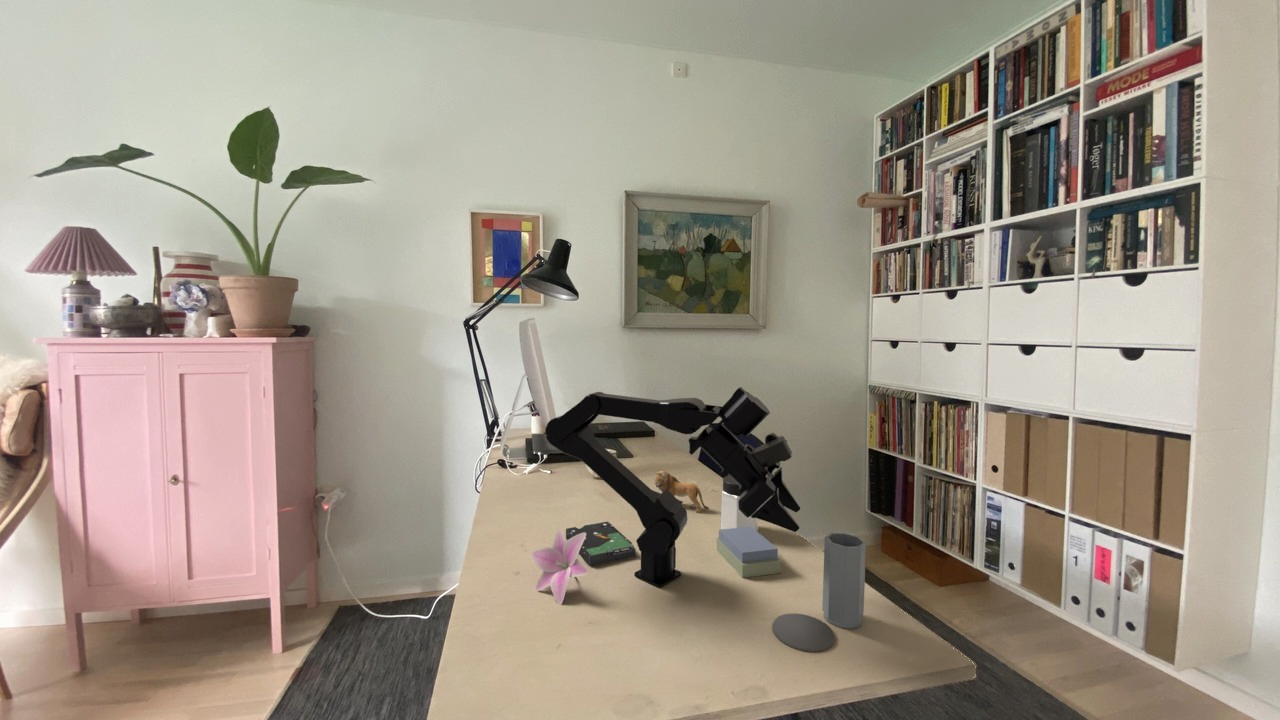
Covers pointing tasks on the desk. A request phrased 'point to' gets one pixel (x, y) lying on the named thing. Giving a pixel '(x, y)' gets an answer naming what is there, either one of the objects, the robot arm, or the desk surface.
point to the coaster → (803, 632)
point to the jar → (734, 507)
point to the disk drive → (602, 543)
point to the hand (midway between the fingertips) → (798, 519)
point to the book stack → (748, 552)
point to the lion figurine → (679, 488)
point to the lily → (559, 564)
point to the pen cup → (844, 580)
